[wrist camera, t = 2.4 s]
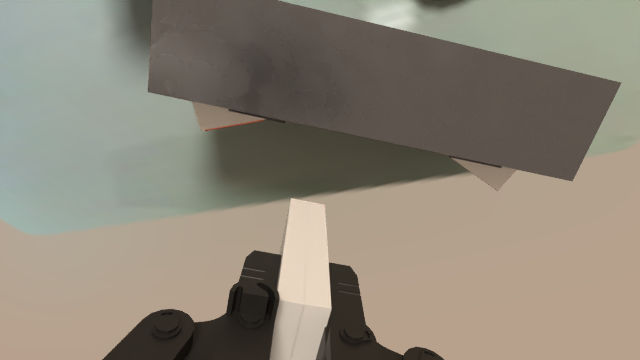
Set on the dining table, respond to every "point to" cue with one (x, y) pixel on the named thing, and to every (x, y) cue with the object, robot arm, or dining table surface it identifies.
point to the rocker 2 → (488, 173)
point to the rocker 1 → (220, 117)
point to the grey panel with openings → (376, 83)
